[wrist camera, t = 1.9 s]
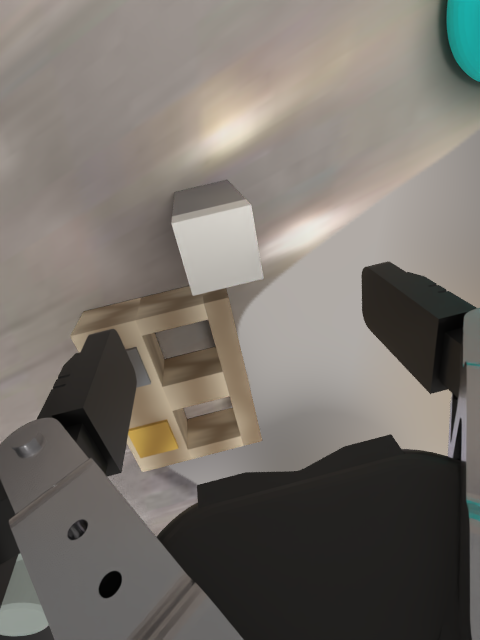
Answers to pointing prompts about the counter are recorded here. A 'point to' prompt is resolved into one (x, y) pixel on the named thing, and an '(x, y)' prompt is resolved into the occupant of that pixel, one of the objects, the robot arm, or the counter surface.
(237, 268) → the plug
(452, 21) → the donuts
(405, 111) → the counter surface
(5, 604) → the air freshener
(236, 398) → the socket block
